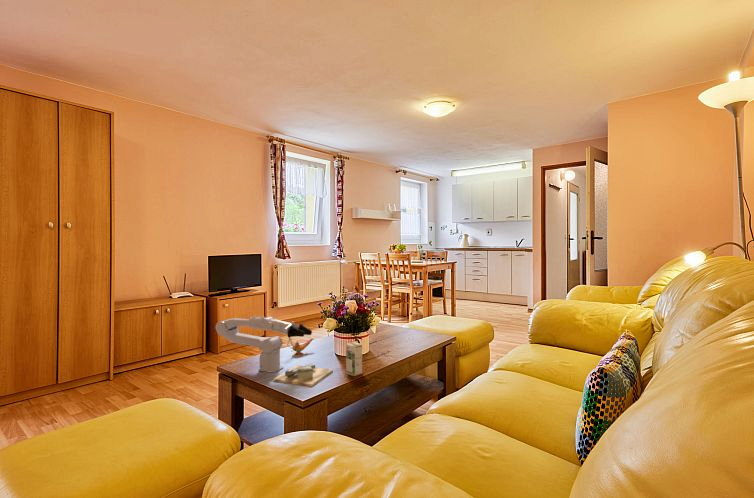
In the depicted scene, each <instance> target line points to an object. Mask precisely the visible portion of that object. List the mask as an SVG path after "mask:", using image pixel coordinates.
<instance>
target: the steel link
mask: <svg viewBox="0 0 754 498" xmlns="http://www.w3.org/2000/svg"><path fill="white" fill-rule="evenodd" d="M301 366H302V367H299V368H304V367H312V369H313V368H316V364H314V363H310V364H305V365H301ZM291 369H292V368H290V369H289V368H288V369H287V370H285V371H284V373H285V376H287V377H291V376H294V375H296V374H298V371H297V368H296V369H293V370H291Z"/></svg>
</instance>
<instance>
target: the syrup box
mask: <svg viewBox="0 0 754 498" xmlns="http://www.w3.org/2000/svg"><path fill="white" fill-rule="evenodd" d="M345 348H346V349H345V353H346V354H345V363H346V365H345V369H346V370H345V374H346V375H349V376H352V377H356V376H359V375H362V374H363V343H358V342H355V341H353V342H348V343H346V346H345Z"/></svg>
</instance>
